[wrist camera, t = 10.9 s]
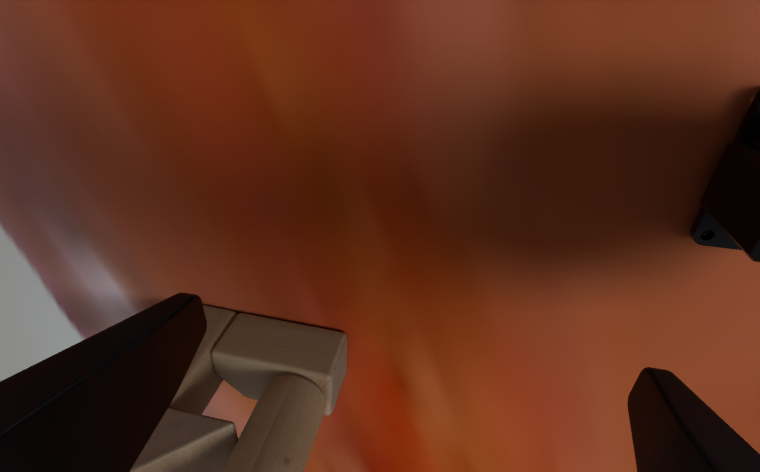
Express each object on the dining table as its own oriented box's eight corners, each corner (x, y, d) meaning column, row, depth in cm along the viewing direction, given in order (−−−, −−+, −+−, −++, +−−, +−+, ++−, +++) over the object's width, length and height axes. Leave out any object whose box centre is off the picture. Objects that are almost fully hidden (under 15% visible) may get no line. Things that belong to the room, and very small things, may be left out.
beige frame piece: (186, 299, 28) (-164, 693, 13) (348, 329, 26) (170, 817, 11) (196, 339, 30) (-96, 721, 15) (347, 370, 28) (195, 829, 13)
